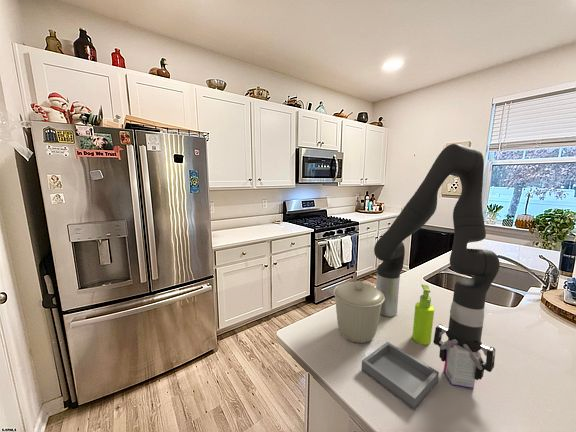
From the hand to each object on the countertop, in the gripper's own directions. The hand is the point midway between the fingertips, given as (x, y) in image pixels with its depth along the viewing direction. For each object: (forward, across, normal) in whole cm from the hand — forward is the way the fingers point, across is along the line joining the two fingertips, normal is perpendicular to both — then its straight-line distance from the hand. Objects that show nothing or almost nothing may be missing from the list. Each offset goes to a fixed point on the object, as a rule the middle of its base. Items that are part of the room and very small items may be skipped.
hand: (459, 368), depth 70 cm
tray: (+4, +11, +13) cm, 17 cm away
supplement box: (+4, 0, 0) cm, 4 cm away
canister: (+4, +31, +7) cm, 32 cm away
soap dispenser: (+4, +15, -10) cm, 18 cm away
